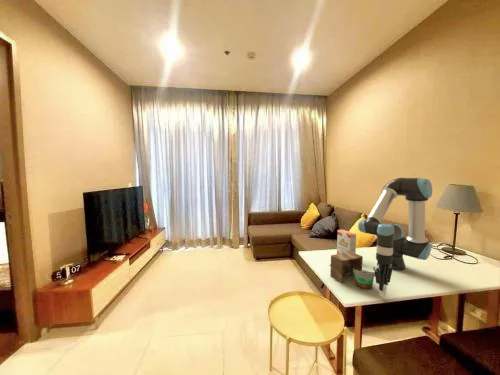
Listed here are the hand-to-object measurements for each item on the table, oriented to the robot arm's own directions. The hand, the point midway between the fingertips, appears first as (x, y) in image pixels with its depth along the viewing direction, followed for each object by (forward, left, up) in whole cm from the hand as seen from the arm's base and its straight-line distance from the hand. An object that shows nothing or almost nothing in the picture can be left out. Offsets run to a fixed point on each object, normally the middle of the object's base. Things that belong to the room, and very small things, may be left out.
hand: (382, 295), depth 119 cm
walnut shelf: (0, -26, -2) cm, 26 cm away
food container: (0, -12, -2) cm, 12 cm away
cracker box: (-24, -50, -2) cm, 55 cm away
